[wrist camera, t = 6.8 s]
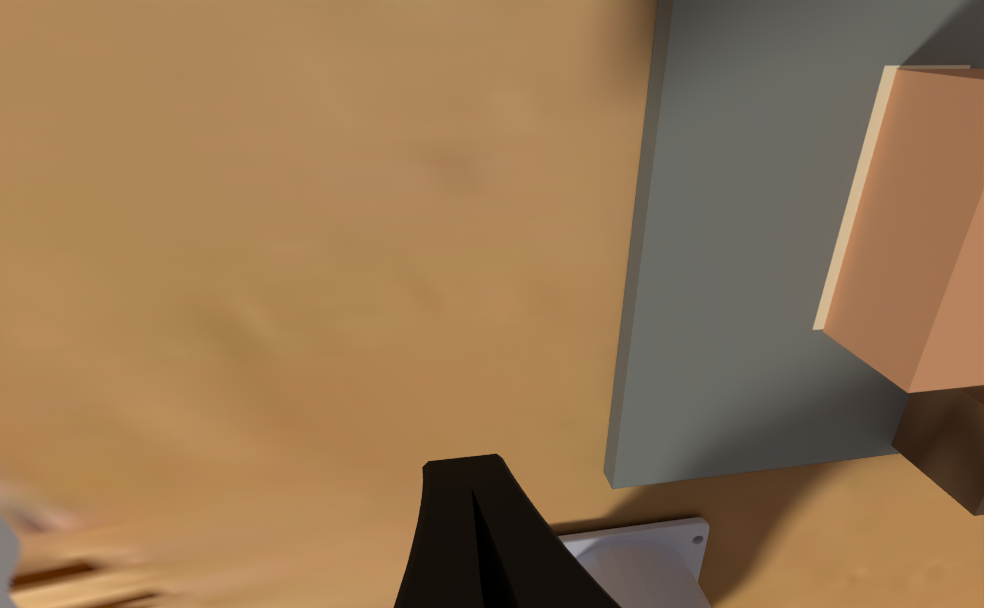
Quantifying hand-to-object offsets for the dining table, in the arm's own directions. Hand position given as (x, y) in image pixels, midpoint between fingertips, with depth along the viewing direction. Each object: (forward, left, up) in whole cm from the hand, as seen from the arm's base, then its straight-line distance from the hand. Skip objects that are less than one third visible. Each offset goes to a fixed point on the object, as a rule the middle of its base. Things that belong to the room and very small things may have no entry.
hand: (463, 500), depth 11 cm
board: (0, -16, -10) cm, 18 cm away
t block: (+2, -19, -9) cm, 21 cm away
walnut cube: (-6, -21, -9) cm, 24 cm away
